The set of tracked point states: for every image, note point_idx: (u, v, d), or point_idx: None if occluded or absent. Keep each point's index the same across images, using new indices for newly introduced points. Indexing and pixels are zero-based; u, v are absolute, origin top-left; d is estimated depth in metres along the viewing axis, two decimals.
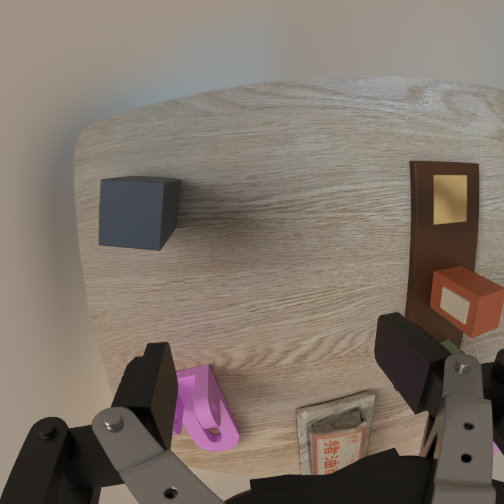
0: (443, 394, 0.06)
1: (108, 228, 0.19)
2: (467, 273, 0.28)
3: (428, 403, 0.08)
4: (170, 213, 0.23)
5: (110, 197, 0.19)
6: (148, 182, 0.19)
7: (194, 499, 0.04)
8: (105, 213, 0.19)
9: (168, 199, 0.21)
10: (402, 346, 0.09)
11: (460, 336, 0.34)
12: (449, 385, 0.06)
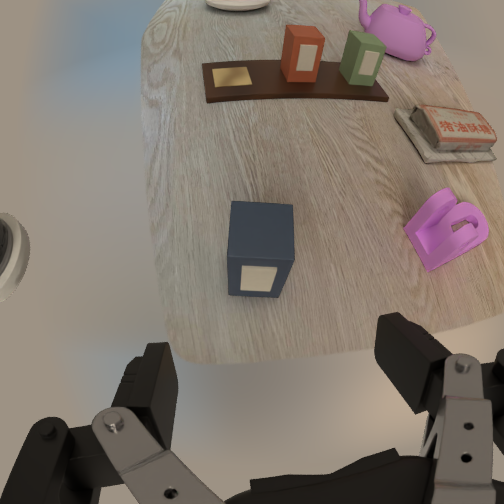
0: (443, 394, 0.06)
1: (276, 248, 0.21)
2: (283, 57, 0.40)
3: (428, 403, 0.08)
4: None
5: (245, 246, 0.21)
6: (231, 213, 0.22)
7: (194, 499, 0.04)
8: (261, 251, 0.21)
9: None
10: (402, 346, 0.09)
11: (335, 63, 0.45)
12: (449, 385, 0.06)
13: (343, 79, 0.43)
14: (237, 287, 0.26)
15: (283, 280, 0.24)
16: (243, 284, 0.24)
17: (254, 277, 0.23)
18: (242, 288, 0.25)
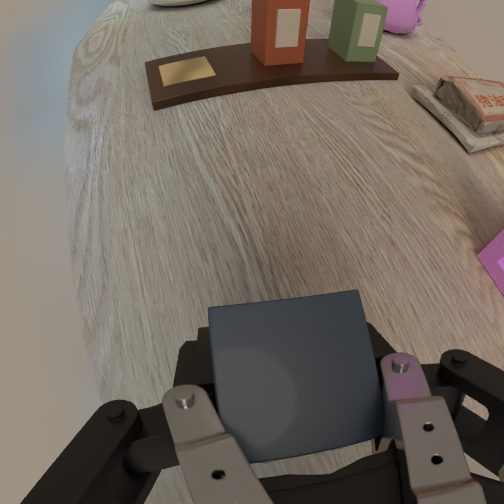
0: (388, 398, 0.07)
1: (344, 420, 0.07)
2: (254, 35, 0.28)
3: None
4: None
5: (266, 432, 0.07)
6: (212, 345, 0.08)
7: (239, 484, 0.04)
8: (309, 437, 0.07)
9: None
10: None
11: (320, 40, 0.33)
12: (392, 387, 0.07)
13: (337, 56, 0.31)
14: None
15: None
16: None
17: None
18: None
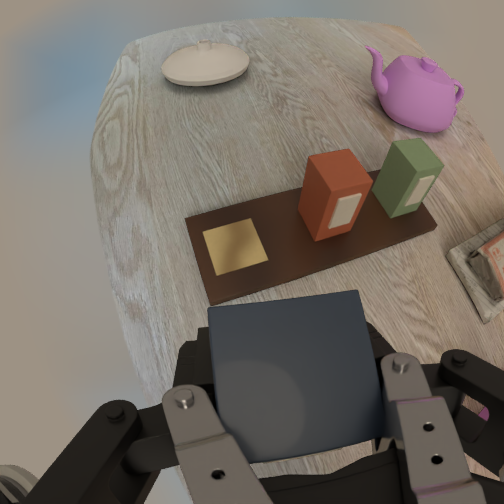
0: (388, 398, 0.07)
1: (343, 421, 0.07)
2: (305, 202, 0.31)
3: None
4: None
5: (265, 433, 0.07)
6: (212, 345, 0.08)
7: (238, 484, 0.04)
8: (309, 437, 0.07)
9: None
10: None
11: None
12: (392, 387, 0.07)
13: (381, 210, 0.34)
14: None
15: None
16: None
17: None
18: None
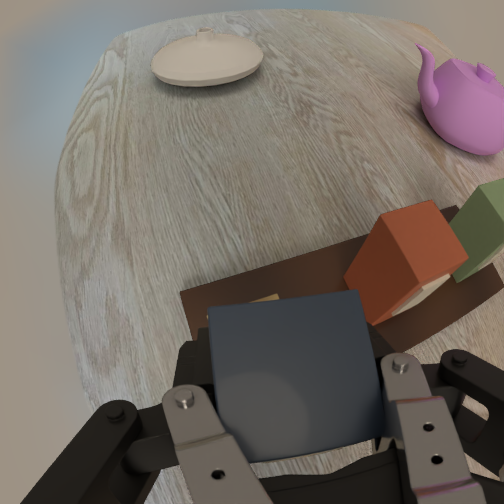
0: (388, 398, 0.07)
1: (343, 420, 0.07)
2: (360, 274, 0.20)
3: None
4: None
5: (265, 432, 0.07)
6: (212, 344, 0.08)
7: (238, 484, 0.04)
8: (309, 437, 0.07)
9: None
10: None
11: None
12: (392, 387, 0.07)
13: None
14: None
15: None
16: None
17: None
18: None
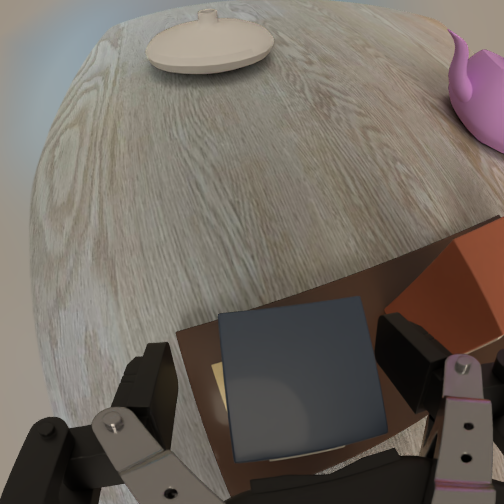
0: (443, 394, 0.06)
1: (346, 420, 0.07)
2: (410, 311, 0.15)
3: (428, 403, 0.08)
4: None
5: (273, 431, 0.07)
6: (222, 349, 0.09)
7: (194, 499, 0.04)
8: (314, 435, 0.07)
9: None
10: (402, 346, 0.09)
11: None
12: (449, 385, 0.06)
13: None
14: None
15: None
16: None
17: None
18: None
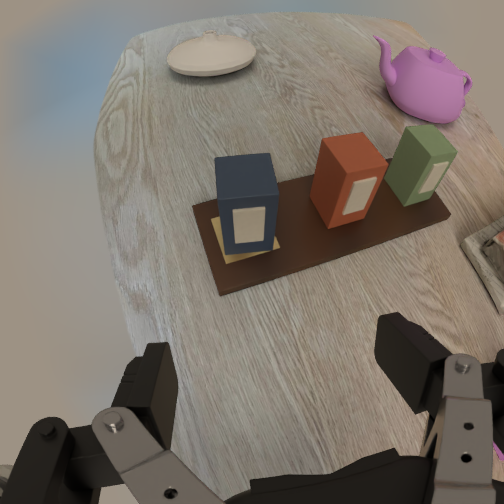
0: (443, 394, 0.06)
1: (261, 187, 0.22)
2: (317, 187, 0.30)
3: (428, 403, 0.08)
4: None
5: (232, 189, 0.22)
6: (215, 167, 0.24)
7: (194, 499, 0.04)
8: (248, 191, 0.22)
9: None
10: (402, 346, 0.09)
11: None
12: (449, 385, 0.06)
13: (394, 198, 0.33)
14: (232, 242, 0.27)
15: (273, 224, 0.25)
16: (237, 234, 0.26)
17: (246, 222, 0.24)
18: (236, 240, 0.26)
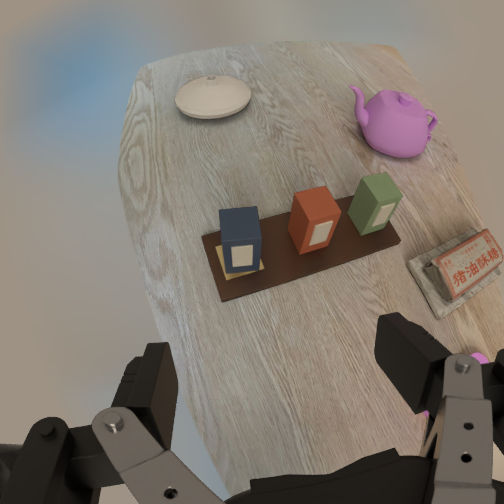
0: (443, 394, 0.06)
1: (250, 233, 0.35)
2: (292, 225, 0.42)
3: (428, 403, 0.08)
4: None
5: (231, 234, 0.35)
6: (219, 217, 0.36)
7: (194, 499, 0.04)
8: (241, 235, 0.34)
9: None
10: (402, 346, 0.09)
11: (341, 200, 0.48)
12: (449, 385, 0.06)
13: (354, 229, 0.45)
14: (230, 265, 0.39)
15: (259, 254, 0.38)
16: (234, 261, 0.38)
17: (240, 254, 0.36)
18: (234, 265, 0.39)
